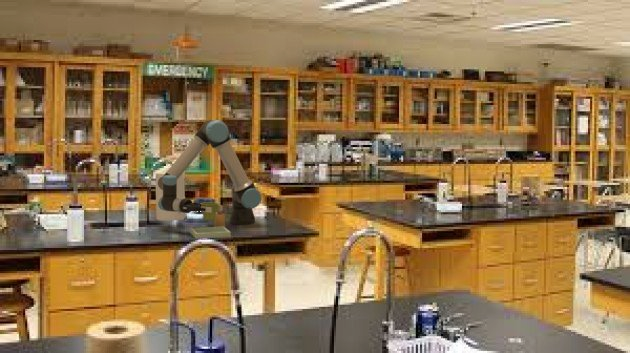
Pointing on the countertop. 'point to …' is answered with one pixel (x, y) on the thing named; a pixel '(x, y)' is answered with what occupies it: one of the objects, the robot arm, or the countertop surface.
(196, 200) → the mineral
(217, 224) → the reagent bottle
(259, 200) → the robot arm
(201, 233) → the tray
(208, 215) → the plant pot
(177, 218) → the cylinder
